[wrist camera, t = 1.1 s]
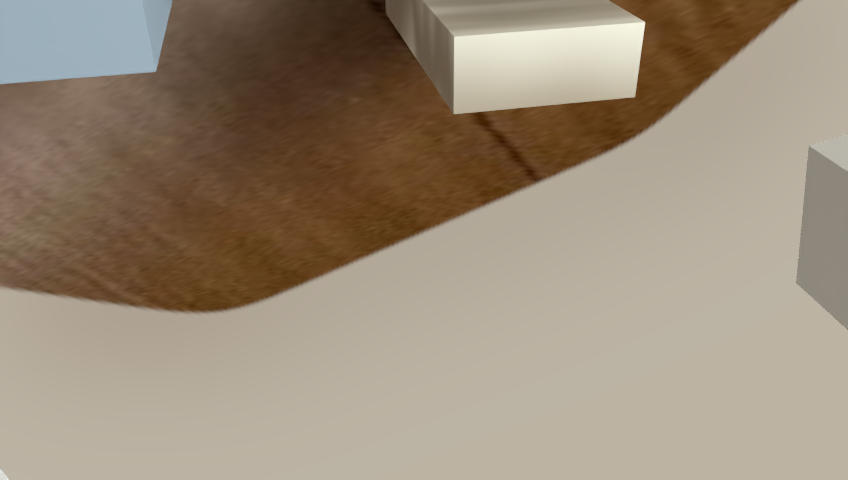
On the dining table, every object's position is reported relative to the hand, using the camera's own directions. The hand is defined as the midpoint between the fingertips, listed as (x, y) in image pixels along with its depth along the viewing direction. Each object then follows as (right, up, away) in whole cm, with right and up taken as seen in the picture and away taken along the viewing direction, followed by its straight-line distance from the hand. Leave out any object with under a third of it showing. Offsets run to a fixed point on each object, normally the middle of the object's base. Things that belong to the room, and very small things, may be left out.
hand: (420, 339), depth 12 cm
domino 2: (+1, +11, +16) cm, 20 cm away
